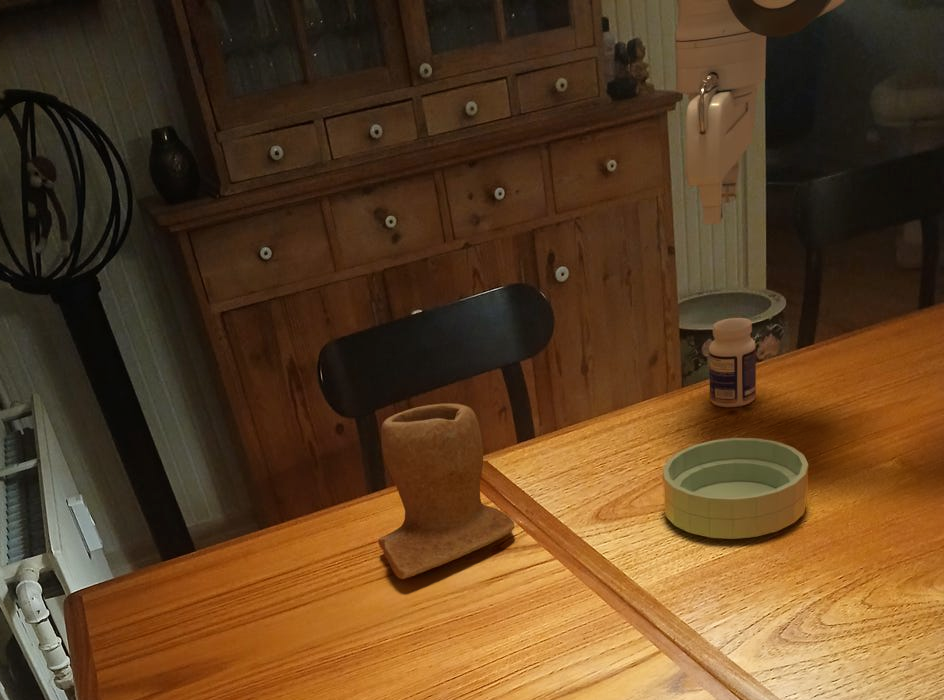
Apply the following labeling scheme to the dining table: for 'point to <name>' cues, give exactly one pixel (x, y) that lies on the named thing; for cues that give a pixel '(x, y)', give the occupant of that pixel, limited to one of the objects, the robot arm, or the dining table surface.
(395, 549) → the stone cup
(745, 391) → the pill bottle
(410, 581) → the dining table surface
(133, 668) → the dining table surface
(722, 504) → the bowl
